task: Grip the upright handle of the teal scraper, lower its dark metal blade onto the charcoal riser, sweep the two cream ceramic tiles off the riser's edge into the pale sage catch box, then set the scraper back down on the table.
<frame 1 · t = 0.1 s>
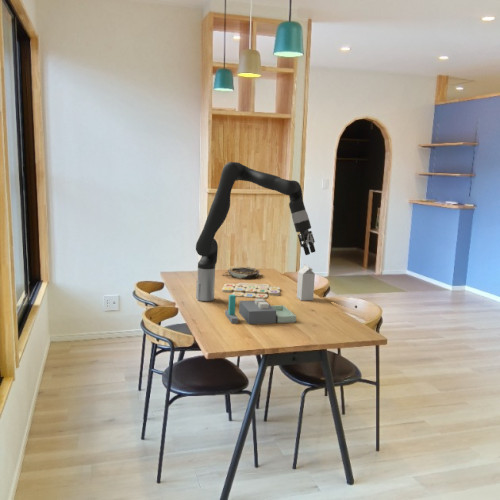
hand: (310, 253, 235), 31 cm above the table, tool tilted 20°, fingers open, 8 cm apart
milk carton: (304, 299, 273), on the table
catch box: (280, 316, 238), on the table
scraper: (231, 319, 232), on the table
riser: (256, 317, 235), on the table
alphabet tiles: (251, 291, 287), on the table
ceramic tile 1: (263, 307, 232), point 6 cm above the table, touching riser
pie: (242, 276, 325), on the table
ceramic tile 2: (259, 303, 237), point 6 cm above the table, touching riser
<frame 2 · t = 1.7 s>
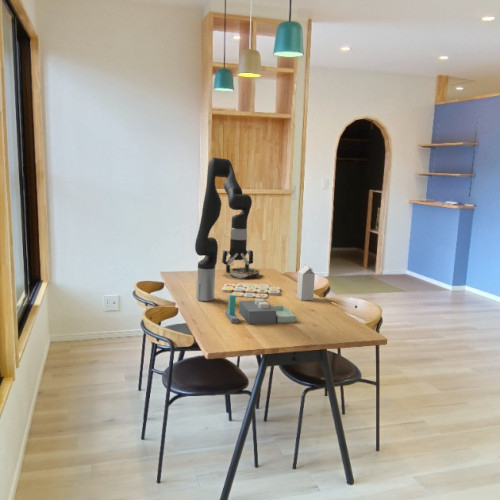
hand: (237, 272, 228), 22 cm above the table, tool pointing down, fingers open, 8 cm apart
nothing on the table moved.
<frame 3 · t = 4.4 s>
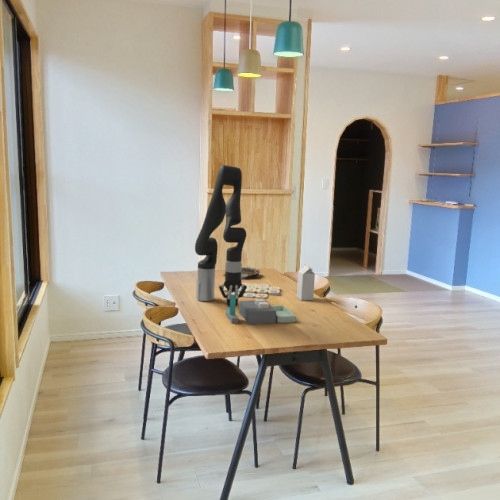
hand: (232, 306, 231), 6 cm above the table, tool pointing down, fingers closed on scraper, 2 cm apart
scraper: (231, 318, 232), on the table, touching gripper
everything else where it was.
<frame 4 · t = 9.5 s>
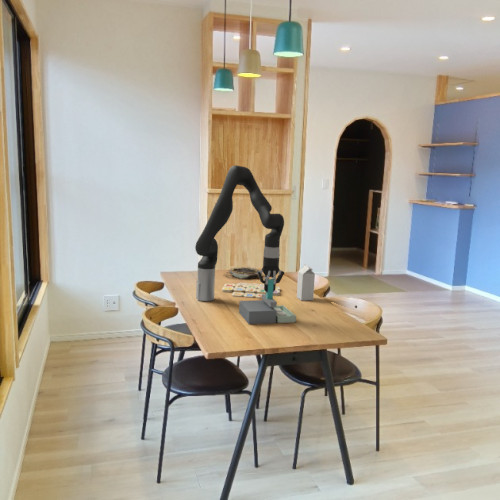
hand: (269, 291, 234), 13 cm above the table, tool pointing down, fingers closed on scraper, 2 cm apart
scraper: (269, 303, 235), point 7 cm above the table, touching gripper
ceramic tile 1: (281, 313, 235), point 3 cm above the table, tilted 180°, touching catch box
ceramic tile 2: (276, 309, 240), point 3 cm above the table, tilted 180°, touching catch box
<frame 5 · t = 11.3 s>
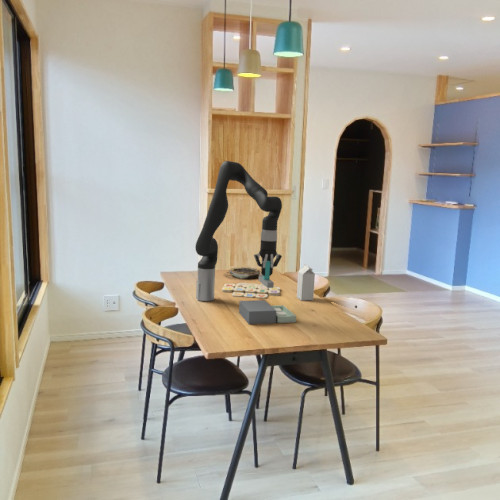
hand: (266, 275, 233), 21 cm above the table, tool pointing down, fingers closed on scraper, 2 cm apart
scraper: (265, 283, 234), point 16 cm above the table, touching gripper
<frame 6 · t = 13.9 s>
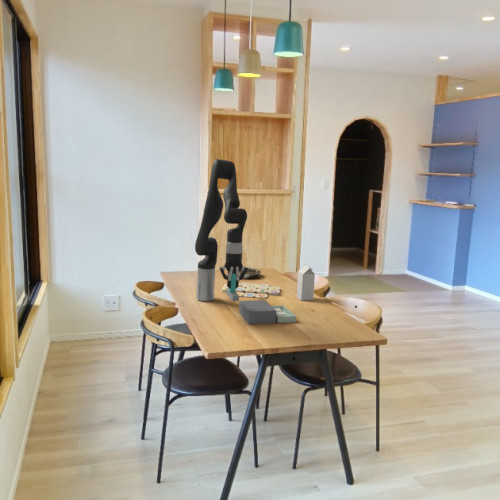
hand: (232, 288, 229), 15 cm above the table, tool pointing down, fingers closed on scraper, 2 cm apart
scraper: (232, 296, 231), point 10 cm above the table, touching gripper
when the fingers open (8 cm above the table, at t = 16.2 s): scraper drops 5 cm, on the table.
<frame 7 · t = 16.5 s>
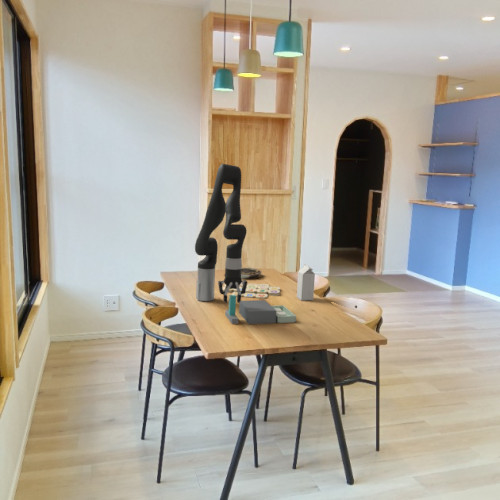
hand: (232, 302, 230), 8 cm above the table, tool pointing down, fingers open, 5 cm apart
scraper: (231, 319, 231), on the table
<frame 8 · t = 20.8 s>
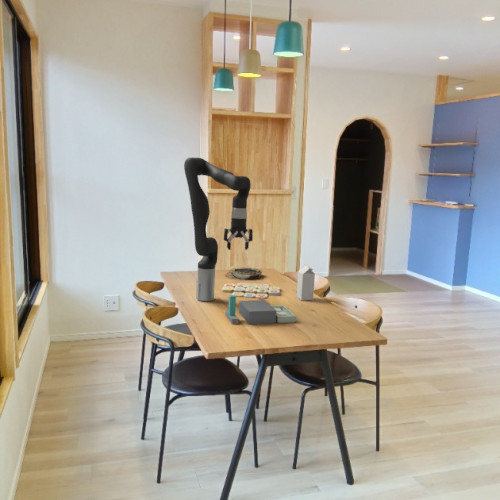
hand: (237, 249, 244), 30 cm above the table, tool pointing down, fingers open, 8 cm apart
at the end: ceramic tile 1 inside the target area on the catch box (3.2 cm from its centre), point 2.8 cm above the catch box's base; ceramic tile 2 inside the target area on the catch box (3.2 cm from its centre), point 2.8 cm above the catch box's base; scraper inside the target area (0.6 cm from its centre), on the table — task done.
